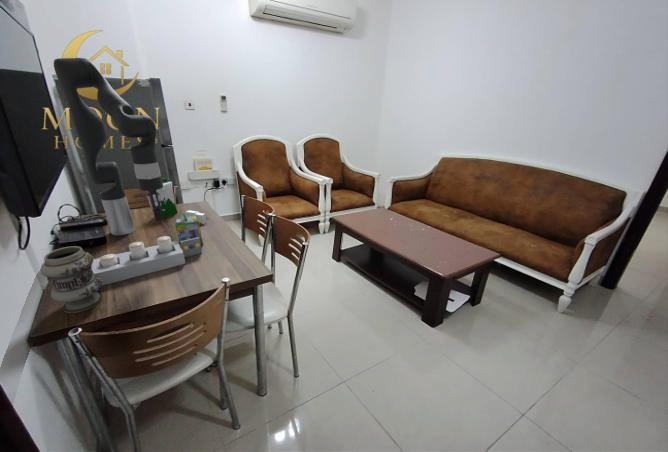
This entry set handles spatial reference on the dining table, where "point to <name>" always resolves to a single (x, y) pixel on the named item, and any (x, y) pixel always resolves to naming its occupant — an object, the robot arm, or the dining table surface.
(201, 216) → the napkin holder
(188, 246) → the card
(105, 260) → the button
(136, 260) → the console
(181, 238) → the chalk box
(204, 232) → the dining table surface
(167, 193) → the milk carton
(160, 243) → the button
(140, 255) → the button
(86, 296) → the apothecary jar
